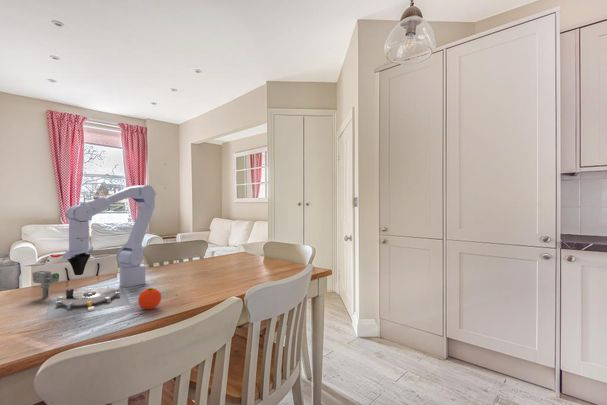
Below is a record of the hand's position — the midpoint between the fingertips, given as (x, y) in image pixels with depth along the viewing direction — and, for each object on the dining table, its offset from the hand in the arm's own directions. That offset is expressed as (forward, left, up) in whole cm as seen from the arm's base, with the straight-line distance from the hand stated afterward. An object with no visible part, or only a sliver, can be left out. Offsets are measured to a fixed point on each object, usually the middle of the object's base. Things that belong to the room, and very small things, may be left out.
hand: (78, 274), depth 103 cm
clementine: (-19, +24, -10) cm, 32 cm away
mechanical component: (+9, -8, -10) cm, 16 cm away
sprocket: (-3, +5, -8) cm, 10 cm away
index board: (-3, +7, -9) cm, 12 cm away
